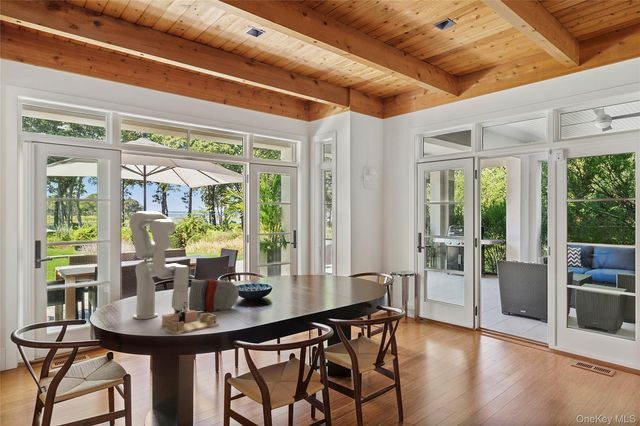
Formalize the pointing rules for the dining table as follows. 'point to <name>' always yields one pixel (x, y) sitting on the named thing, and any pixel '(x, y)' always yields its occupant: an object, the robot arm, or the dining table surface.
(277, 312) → the dining table surface
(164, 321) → the clay strip
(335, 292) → the dining table surface
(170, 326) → the plank with end blocks
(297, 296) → the dining table surface
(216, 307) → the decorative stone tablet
